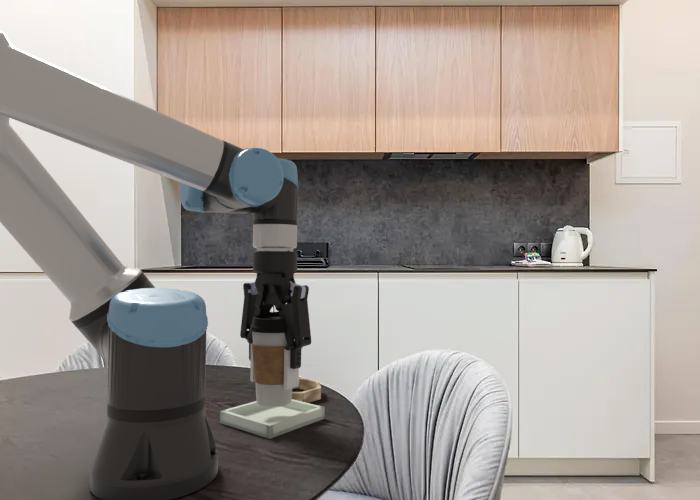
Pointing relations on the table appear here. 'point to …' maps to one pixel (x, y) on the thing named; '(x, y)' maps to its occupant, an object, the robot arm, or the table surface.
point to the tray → (272, 417)
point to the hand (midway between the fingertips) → (273, 383)
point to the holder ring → (307, 391)
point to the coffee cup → (269, 360)
